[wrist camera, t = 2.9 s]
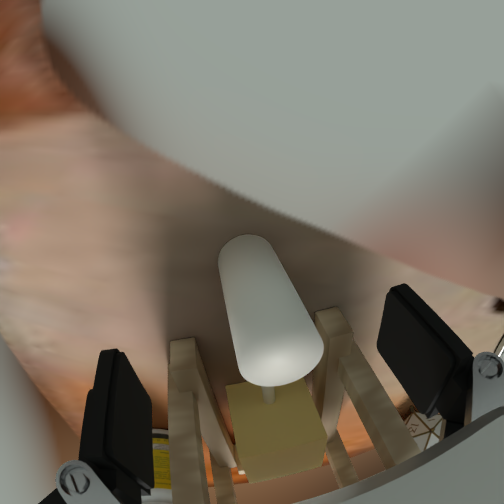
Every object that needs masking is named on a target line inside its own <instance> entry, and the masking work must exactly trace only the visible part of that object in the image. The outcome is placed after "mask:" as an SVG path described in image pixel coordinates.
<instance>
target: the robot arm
mask: <svg viewBox="0 0 504 504" xmlns="http://www.w3.org/2000/svg"><path fill="white" fill-rule="evenodd" d="M377 349H378V351H379V353H380V355H381V356H382V357H383V359H384V360H385V362H386V363H387V365H388V366H389V368H390V369H391V370H392V372H393V373H394V375H395V376H396V378H397V379H398V381H399V382H400V384H401V385H402V387H403V388H404V390H405V391H406V393H407V394H408V396H409V397H410V399H411V400H412V402H413V403H414V405H415V406H416V408H417V409H418V411H419V412H420V413H421V414H425V416H426V417H427V419H430V418H431V417H433V416H435V415H437V414H438V413H440V415H441V416H442V424H441V430H440V436H439V442H438V443H437V444H435V445H433V446H431V447H430V448H428V449H426V450H424V451H423V452H421V453H419V454H417V455H415V456H413V457H411V458H409V459H408V460H406V461H404V462H402V463H400V464H397V465H395V466H393V467H391V468H389V469H387V470H385V471H383V472H380V473H378V474H376V475H374V476H371V477H369V478H367V479H364V480H362V481H359V482H357V483H354V484H352V485H349V486H346V487H344V488H341V489H338V490H336V491H333V492H330V493H327V494H324V495H321V496H318V497H314V498H311V499H308V500H304V501H301V502H297V503H294V504H504V337H503V339H502V341H501V342H500V344H499V346H498V348H497V350H496V351H495V354H494V353H491V352H482V353H479V354H478V355H477V356H476V357H475V358H474V357H473V356H472V354H473V352H472V351H471V350H470V349H469V348H468V347H467V346H466V345H465V344H464V342H463V341H462V340H461V339H460V338H459V337H458V336H457V335H456V334H455V333H454V332H453V331H452V330H451V328H450V327H449V326H448V325H447V324H446V323H445V322H444V321H443V320H442V319H441V318H440V317H439V316H438V315H437V314H436V313H435V312H434V311H433V310H432V309H431V308H430V307H429V306H428V305H427V304H426V303H425V302H424V301H423V300H422V299H421V298H420V297H419V296H418V295H417V294H416V293H415V292H414V291H413V290H412V289H411V288H410V287H409V286H408V285H407V284H401V285H397V286H394V287H391V288H390V290H389V292H388V293H387V295H386V300H385V305H384V311H383V316H382V321H381V326H380V331H379V335H378V340H377ZM55 481H56V487H57V488H56V489H55V490H54V491H53V492H52V493H50V494H49V495H48V496H47V497H46V498H44V499H43V500H42V501H41V502H40V503H38V504H142V499H141V496H151V489H153V488H154V486H155V481H154V464H153V439H152V403H151V399H150V397H149V395H148V394H147V392H146V390H145V389H144V387H143V385H142V384H141V382H140V380H139V378H138V377H137V375H136V373H135V371H134V370H133V368H132V366H131V364H130V362H129V360H128V359H127V357H126V355H125V353H124V352H120V351H119V350H118V349H110V350H102V351H101V352H100V355H99V360H98V365H97V370H96V375H95V381H94V386H93V389H91V390H90V391H89V392H88V395H87V400H86V406H85V412H84V419H83V426H82V433H81V441H80V451H79V460H72V461H68V462H66V463H64V464H63V465H62V466H61V467H60V468H59V470H58V472H57V474H56V479H55Z"/></svg>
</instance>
